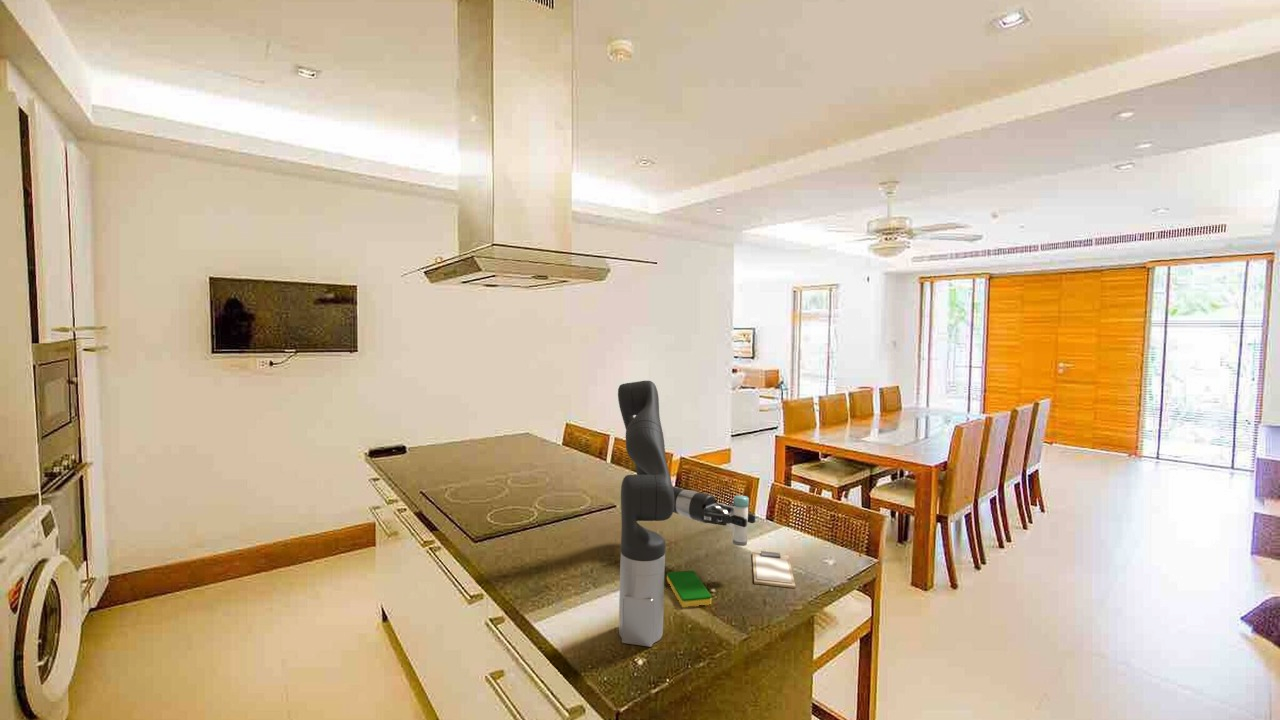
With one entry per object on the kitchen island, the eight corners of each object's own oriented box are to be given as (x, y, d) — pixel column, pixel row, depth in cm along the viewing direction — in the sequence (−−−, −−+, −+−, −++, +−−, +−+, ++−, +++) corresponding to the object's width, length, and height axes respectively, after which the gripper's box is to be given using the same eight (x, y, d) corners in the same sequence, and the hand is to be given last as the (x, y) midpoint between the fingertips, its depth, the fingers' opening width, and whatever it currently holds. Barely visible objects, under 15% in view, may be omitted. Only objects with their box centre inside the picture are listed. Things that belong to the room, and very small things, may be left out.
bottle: (747, 546, 134) (749, 500, 133) (732, 545, 134) (733, 499, 134) (747, 541, 138) (748, 496, 137) (732, 539, 138) (733, 494, 138)
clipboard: (795, 588, 130) (795, 583, 130) (754, 583, 132) (754, 578, 132) (788, 557, 148) (788, 553, 148) (752, 554, 150) (752, 549, 150)
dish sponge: (693, 578, 135) (693, 569, 135) (711, 606, 121) (711, 596, 121) (666, 581, 133) (666, 572, 133) (682, 609, 120) (682, 599, 120)
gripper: (680, 497, 140) (735, 512, 129) (711, 487, 151) (764, 500, 139) (679, 525, 140) (735, 542, 129) (710, 513, 151) (763, 528, 139)
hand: (750, 521), depth 134 cm, fingers closed on bottle, 3 cm apart
